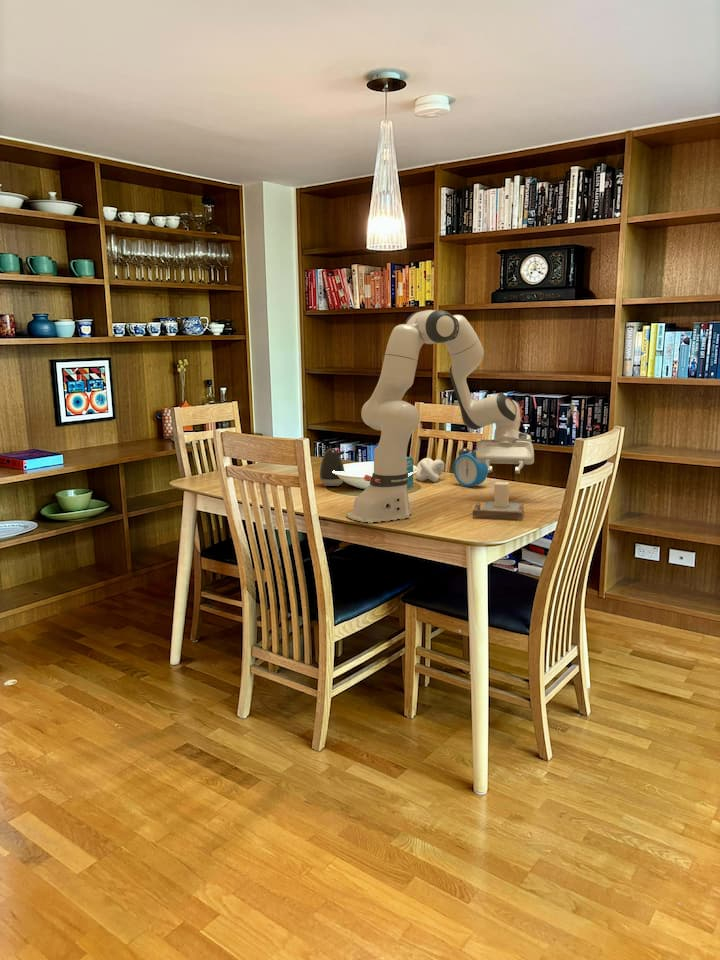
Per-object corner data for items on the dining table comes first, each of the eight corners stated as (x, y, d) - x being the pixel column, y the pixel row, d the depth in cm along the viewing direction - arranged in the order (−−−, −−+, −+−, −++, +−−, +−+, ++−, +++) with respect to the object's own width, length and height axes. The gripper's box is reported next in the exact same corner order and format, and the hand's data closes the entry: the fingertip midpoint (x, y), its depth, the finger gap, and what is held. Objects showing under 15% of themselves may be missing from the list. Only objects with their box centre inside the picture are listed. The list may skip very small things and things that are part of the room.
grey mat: (518, 515, 247) (518, 510, 246) (481, 513, 250) (481, 509, 250) (520, 506, 258) (520, 502, 258) (485, 505, 261) (485, 501, 261)
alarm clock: (452, 484, 297) (452, 447, 294) (462, 482, 301) (462, 446, 298) (478, 489, 287) (479, 451, 284) (488, 486, 292) (489, 449, 289)
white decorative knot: (444, 483, 299) (444, 462, 297) (414, 483, 301) (414, 462, 299) (444, 478, 310) (444, 457, 308) (415, 478, 312) (415, 457, 310)
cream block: (507, 507, 251) (508, 484, 249) (494, 507, 252) (494, 484, 251) (508, 504, 255) (508, 482, 254) (495, 504, 256) (495, 481, 255)
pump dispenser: (342, 488, 294) (341, 450, 291) (317, 487, 296) (315, 450, 293) (348, 483, 304) (347, 446, 301) (323, 482, 306) (322, 446, 303)
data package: (398, 491, 286) (398, 461, 284) (388, 490, 288) (388, 460, 286) (413, 486, 296) (413, 456, 293) (403, 485, 298) (403, 455, 296)
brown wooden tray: (521, 525, 234) (521, 512, 234) (472, 522, 238) (472, 510, 238) (523, 516, 245) (523, 504, 245) (476, 514, 249) (476, 502, 249)
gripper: (476, 434, 264) (472, 466, 257) (535, 435, 259) (533, 467, 252) (477, 444, 269) (474, 476, 262) (535, 446, 264) (533, 478, 257)
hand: (503, 472), depth 257 cm, fingers open, 8 cm apart
